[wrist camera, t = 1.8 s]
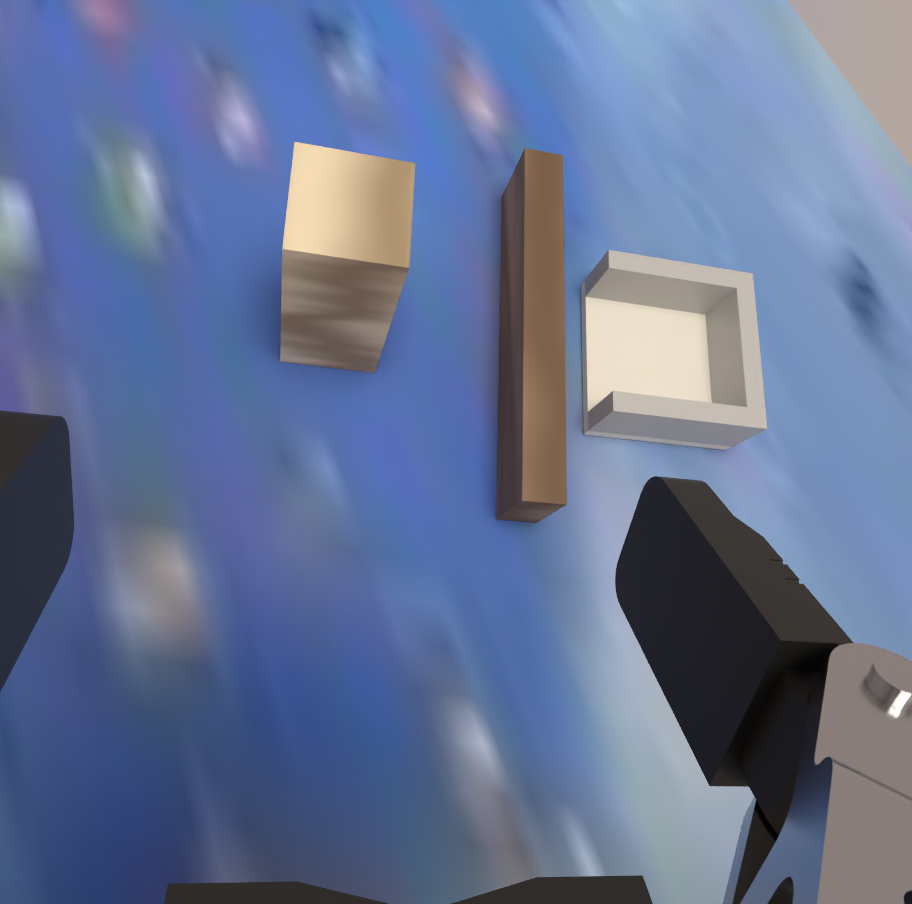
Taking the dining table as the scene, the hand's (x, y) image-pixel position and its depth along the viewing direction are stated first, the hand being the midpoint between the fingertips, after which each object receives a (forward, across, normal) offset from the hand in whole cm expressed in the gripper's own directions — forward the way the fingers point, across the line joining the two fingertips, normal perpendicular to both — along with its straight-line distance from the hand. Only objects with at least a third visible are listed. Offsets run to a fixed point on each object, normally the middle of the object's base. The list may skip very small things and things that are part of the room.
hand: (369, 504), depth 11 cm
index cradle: (+27, -17, +7) cm, 32 cm away
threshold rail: (+27, -9, +7) cm, 29 cm away
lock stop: (+27, 0, +7) cm, 28 cm away
